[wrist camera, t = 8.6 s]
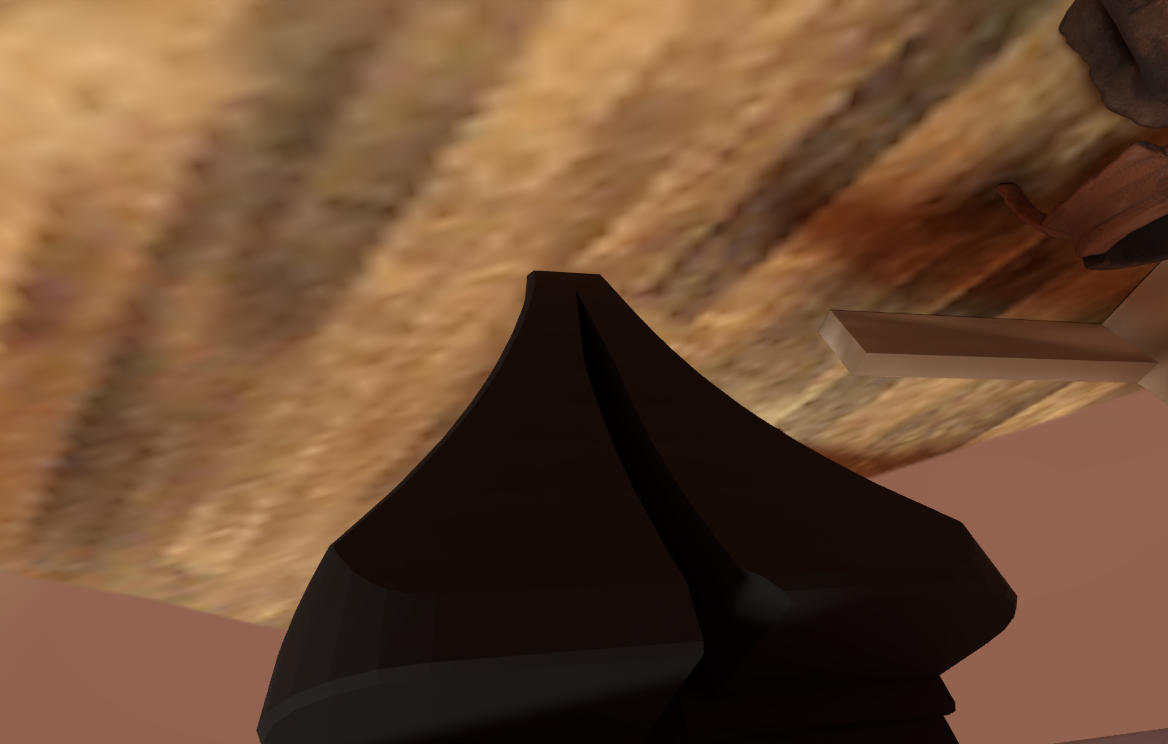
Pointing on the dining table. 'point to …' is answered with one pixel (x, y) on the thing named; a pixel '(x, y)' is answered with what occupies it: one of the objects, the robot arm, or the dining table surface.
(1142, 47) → the pottery mug
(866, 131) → the dining table surface
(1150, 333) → the maple cradle
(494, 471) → the robot arm
